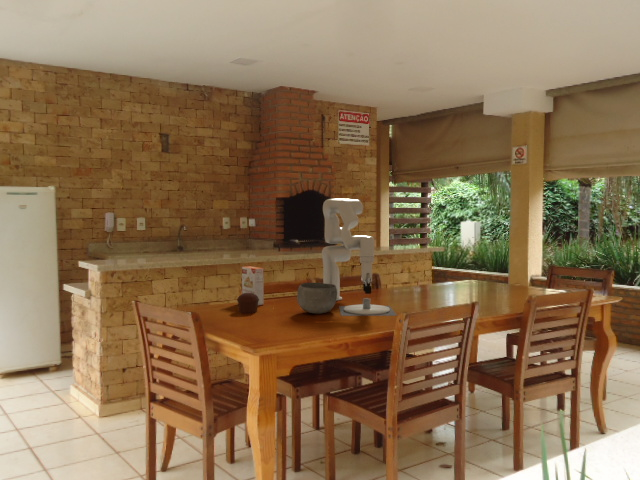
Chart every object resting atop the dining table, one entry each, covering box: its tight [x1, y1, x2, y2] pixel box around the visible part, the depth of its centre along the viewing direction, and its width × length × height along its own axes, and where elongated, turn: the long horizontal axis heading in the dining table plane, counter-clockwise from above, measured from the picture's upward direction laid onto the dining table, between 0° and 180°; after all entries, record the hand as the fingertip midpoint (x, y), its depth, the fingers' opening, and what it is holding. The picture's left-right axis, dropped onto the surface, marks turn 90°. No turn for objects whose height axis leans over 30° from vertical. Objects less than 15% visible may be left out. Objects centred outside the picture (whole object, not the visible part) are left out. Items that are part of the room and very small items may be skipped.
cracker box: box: [241, 265, 265, 307], centre depth 334 cm, size 14×6×21 cm, turn 40°
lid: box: [344, 297, 390, 315], centre depth 311 cm, size 24×24×6 cm
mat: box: [338, 305, 398, 317], centre depth 311 cm, size 28×28×1 cm
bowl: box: [296, 282, 337, 315], centre depth 306 cm, size 20×20×15 cm
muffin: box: [236, 293, 259, 315], centre depth 310 cm, size 12×11×10 cm
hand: (367, 292), depth 310 cm, fingers open, 9 cm apart
